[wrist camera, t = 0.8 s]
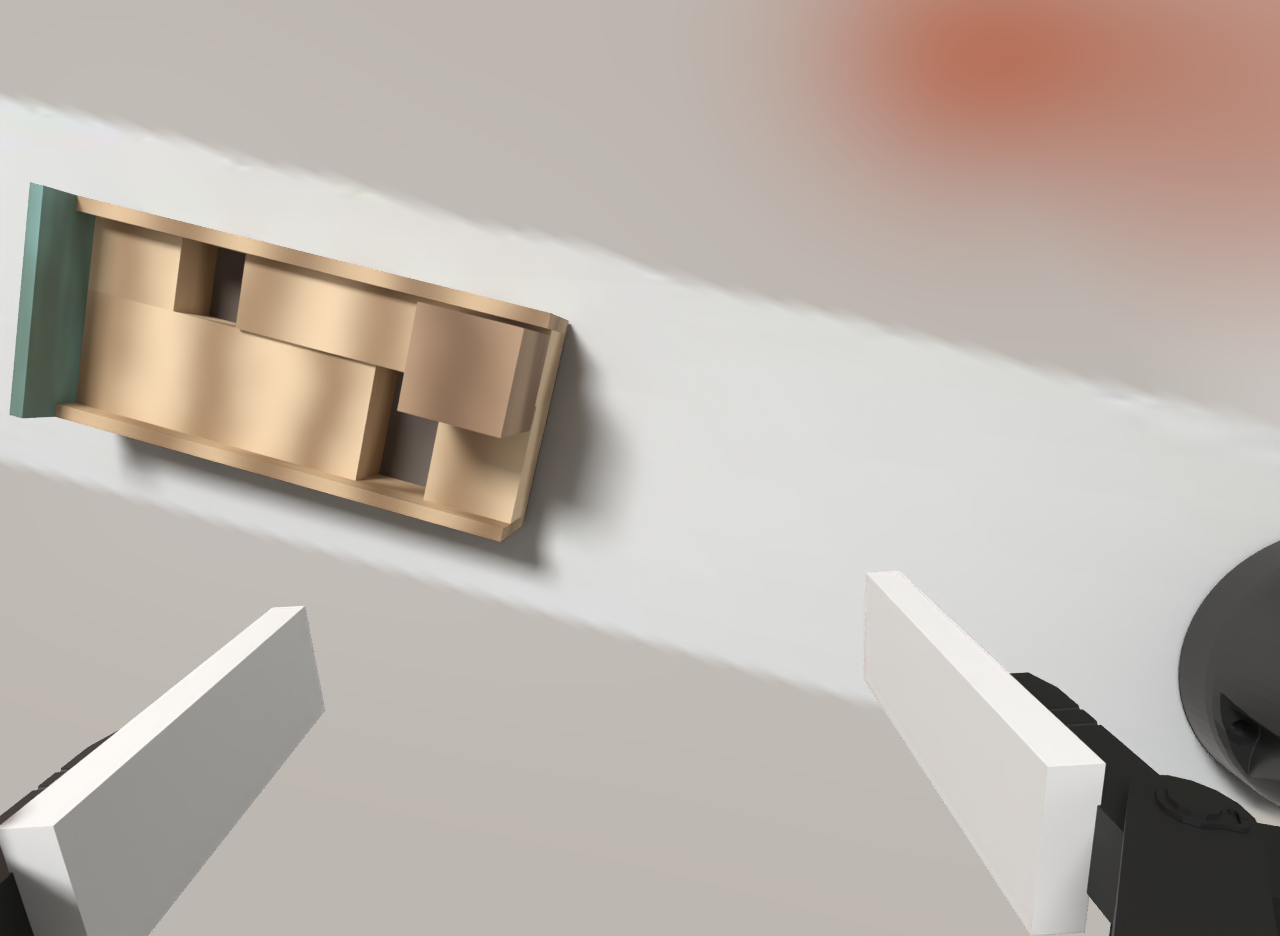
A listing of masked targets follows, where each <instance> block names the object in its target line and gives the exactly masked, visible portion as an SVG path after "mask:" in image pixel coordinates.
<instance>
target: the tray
mask: <svg viewBox="0 0 1280 936" xmlns="http://www.w3.org/2000/svg"><path fill="white" fill-rule="evenodd" d="M417 301H418V302H422V303H426V304H430V305H434V306H438V307H442V308H446V309H450V310H454V311H458V312H462V313H466V314H470V315H474V316H478V317H482V318H486V319H490V320H494V321H498V322H502V323H506V324H509V325H513V326H517V327H521V328H525V329H529V330H532V331H536V332H539V333H543V334H546V335H550V340H549V345H548V349H547V354H546V358H545V363H544V367H543V372H542V376H541V381H540V385H539V390H538V394H537V399H536V403H535V408H534V412H533V417H532V421H531V426H530V430H529V431H527V432H523V433H519V434H515V435H511V436H507V437H503V438H498V437H494V436H490V435H486V434H483V433H479V432H475V431H471V430H468V429H464V428H460V427H457V426H453V425H449V424H445V423H442V422H438V421H434V420H430V419H427V418H423V417H419V416H415V415H412V414H408V413H404V412H400V411H397V408H398V403H399V398H400V392H401V387H402V382H403V376H404V371H405V365H406V360H407V355H408V349H409V344H410V339H411V333H412V328H413V323H414V317H415V312H416V307H417ZM568 322H569V321H568V320H565V319H563V318H561V317H558V316H556V315H554V314H551V313H547V312H543V311H539V310H535V309H531V308H527V307H523V306H519V305H515V304H511V303H507V302H503V301H499V300H495V299H491V298H487V297H483V296H479V295H475V294H471V293H467V292H463V291H459V290H455V289H451V288H447V287H443V286H439V285H435V284H431V283H427V282H423V281H419V280H415V279H410V278H406V277H402V276H398V275H394V274H390V273H386V272H382V271H378V270H374V269H370V268H366V267H362V266H358V265H354V264H350V263H346V262H342V261H338V260H334V259H330V258H326V257H322V256H318V255H314V254H310V253H306V252H302V251H298V250H294V249H290V248H286V247H282V246H278V245H274V244H270V243H266V242H262V241H258V240H254V239H250V238H246V237H242V236H238V235H234V234H229V233H225V232H221V231H217V230H213V229H209V228H205V227H201V226H197V225H193V224H189V223H185V222H181V221H177V220H173V219H169V218H165V217H161V216H157V215H153V214H149V213H145V212H141V211H137V210H133V209H129V208H125V207H121V206H117V205H113V204H109V203H105V202H101V201H97V200H93V199H89V198H85V197H81V196H77V195H73V194H70V193H66V192H63V191H60V190H56V189H53V188H49V187H46V186H43V185H38V184H34V183H30V189H29V200H28V212H27V223H26V234H25V246H24V257H23V268H22V280H21V291H20V302H19V314H18V325H17V336H16V348H15V359H14V370H13V382H12V393H11V404H10V415H13V416H16V417H20V418H36V417H58V418H62V419H65V420H69V421H73V422H76V423H80V424H83V425H87V426H90V427H94V428H97V429H101V430H105V431H108V432H112V433H115V434H119V435H122V436H126V437H129V438H133V439H137V440H140V441H144V442H147V443H151V444H154V445H158V446H161V447H165V448H168V449H172V450H176V451H179V452H183V453H186V454H190V455H193V456H197V457H200V458H204V459H208V460H211V461H215V462H218V463H222V464H225V465H229V466H232V467H236V468H240V469H243V470H247V471H250V472H254V473H257V474H261V475H264V476H268V477H271V478H275V479H279V480H282V481H286V482H289V483H293V484H296V485H300V486H303V487H307V488H311V489H314V490H318V491H321V492H325V493H328V494H332V495H335V496H339V497H343V498H346V499H350V500H353V501H357V502H360V503H364V504H367V505H371V506H374V507H378V508H382V509H385V510H389V511H392V512H396V513H399V514H403V515H406V516H410V517H414V518H417V519H421V520H424V521H428V522H431V523H435V524H438V525H442V526H446V527H449V528H453V529H456V530H460V531H463V532H467V533H470V534H474V535H477V536H481V537H485V538H488V539H492V540H495V541H499V542H501V541H503V540H504V539H505V538H507V537H508V536H509V535H511V534H512V533H514V532H515V531H516V530H518V529H519V528H520V527H522V526H523V521H524V517H525V513H526V508H527V504H528V499H529V495H530V490H531V486H532V481H533V477H534V473H535V468H536V464H537V459H538V455H539V450H540V446H541V442H542V437H543V433H544V428H545V424H546V419H547V415H548V411H549V406H550V402H551V397H552V393H553V388H554V384H555V379H556V375H557V371H558V366H559V362H560V357H561V353H562V348H563V344H564V340H565V335H566V331H567V326H568Z"/></svg>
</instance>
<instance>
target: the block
mask: <svg viewBox="0 0 1280 936" xmlns="http://www.w3.org/2000/svg"><path fill="white" fill-rule="evenodd" d="M549 340H550V335H546V334H543V333H539V332H536V331H532V330H529V329H525V328H521V327H517V326H513V325H509V324H506V323H502V322H498V321H494V320H490V319H486V318H482V317H478V316H474V315H470V314H466V313H462V312H458V311H454V310H450V309H446V308H442V307H438V306H434V305H430V304H426V303H422V302H418V301H417V307H416V312H415V317H414V323H413V328H412V333H411V339H410V344H409V349H408V355H407V360H406V365H405V371H404V376H403V382H402V387H401V392H400V398H399V403H398V408H397V411H400V412H404V413H408V414H412V415H415V416H419V417H423V418H427V419H430V420H434V421H438V422H442V423H445V424H449V425H453V426H457V427H460V428H464V429H468V430H471V431H475V432H479V433H483V434H486V435H490V436H494V437H498V438H503V437H507V436H511V435H515V434H519V433H523V432H527V431H529V430H530V426H531V421H532V417H533V412H534V408H535V403H536V399H537V394H538V390H539V385H540V381H541V376H542V372H543V367H544V363H545V358H546V354H547V349H548V345H549Z"/></svg>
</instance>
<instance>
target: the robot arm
mask: <svg viewBox="0 0 1280 936" xmlns="http://www.w3.org/2000/svg"><path fill="white" fill-rule="evenodd" d="M863 679H864V680H865V682H866V683H867V685H868V686H869V688H870V690H871V691H872V693H873V694H874V696H875V697H876V699H877V700H878V702H879V703H880V705H881V706H882V708H883V709H884V711H885V713H886V714H887V716H888V717H889V719H890V720H891V722H892V723H893V725H894V726H895V728H896V729H897V731H898V732H899V734H900V736H901V737H902V739H903V740H904V742H905V743H906V745H907V746H908V747H909V749H910V751H911V752H912V754H913V755H914V757H915V758H916V760H917V762H918V763H919V765H920V766H921V768H922V769H923V771H924V772H925V774H926V775H927V777H928V779H929V780H930V782H931V783H932V785H933V786H934V788H935V789H936V791H937V792H938V794H939V795H940V797H941V798H942V800H943V802H944V803H945V805H946V806H947V808H948V809H949V811H950V812H951V814H952V815H953V817H954V818H955V820H956V821H957V823H958V825H959V826H960V827H961V829H962V831H963V832H964V834H965V835H966V837H967V838H968V840H969V842H970V843H971V845H972V846H973V848H974V849H975V851H976V852H977V854H978V855H979V857H980V858H981V860H982V861H983V863H984V864H985V866H986V868H987V869H988V871H989V872H990V873H991V875H992V877H993V878H994V880H995V881H996V883H997V884H998V886H999V887H1000V889H1001V891H1002V892H1003V894H1004V895H1005V897H1006V898H1007V900H1008V901H1009V903H1010V904H1011V906H1012V907H1013V909H1014V910H1015V912H1016V913H1017V915H1018V917H1019V918H1020V920H1021V921H1022V923H1023V924H1024V926H1025V927H1026V929H1027V931H1028V932H1029V934H1030V935H1031V936H1032V935H1049V934H1064V933H1065V934H1066V933H1081V932H1085V925H1086V918H1087V910H1088V901H1089V897H1090V898H1091V899H1092V900H1093V902H1094V903H1095V904H1096V905H1097V907H1098V908H1099V909H1100V910H1101V912H1102V913H1103V914H1104V915H1105V917H1106V918H1107V919H1108V920H1109V922H1110V923H1111V927H1110V934H1109V936H1280V827H1279V826H1272V825H1267V824H1261V823H1257V822H1256V820H1255V818H1254V817H1253V816H1251V815H1250V814H1249V813H1248V812H1247V811H1246V810H1245V809H1244V808H1243V807H1242V806H1241V805H1239V804H1238V803H1237V802H1235V801H1233V800H1232V799H1230V798H1228V797H1227V796H1225V795H1223V794H1221V793H1220V792H1218V791H1216V790H1214V789H1212V788H1209V787H1206V786H1204V785H1201V784H1199V783H1196V782H1194V781H1191V780H1187V779H1182V778H1178V777H1173V776H1169V775H1159V774H1158V773H1157V772H1155V771H1154V770H1153V769H1152V768H1151V767H1150V766H1148V765H1147V764H1146V763H1145V762H1144V761H1143V760H1141V759H1140V758H1139V757H1138V756H1137V755H1136V754H1134V753H1133V752H1132V751H1131V750H1130V749H1129V748H1127V747H1126V746H1125V745H1124V744H1123V743H1122V742H1120V741H1119V740H1118V739H1117V738H1116V737H1115V736H1113V735H1112V734H1111V733H1110V732H1109V731H1108V730H1106V729H1105V728H1104V727H1103V726H1102V725H1097V721H1096V720H1095V719H1094V718H1092V717H1091V716H1090V715H1089V714H1088V713H1087V712H1085V711H1084V710H1083V709H1082V710H1080V709H1079V706H1078V705H1077V704H1076V703H1075V702H1074V701H1073V700H1071V699H1070V698H1069V697H1068V696H1067V695H1066V694H1064V693H1063V692H1062V691H1061V690H1060V689H1059V688H1058V687H1056V686H1054V685H1052V684H1050V683H1048V682H1046V681H1044V680H1042V679H1040V678H1038V677H1036V676H1034V675H1032V674H1030V673H1011V674H1009V673H1008V672H1007V671H1006V670H1005V669H1004V668H1003V667H1002V666H1001V665H999V664H998V663H997V662H996V661H995V660H994V659H993V658H992V657H991V656H990V655H989V654H988V653H987V652H985V651H984V650H983V649H982V648H981V647H980V646H979V645H978V644H977V643H976V642H975V641H974V640H973V639H972V638H970V637H969V636H968V635H967V634H966V633H965V632H964V631H963V630H962V629H961V628H960V627H959V626H958V625H956V624H955V623H954V622H953V621H952V620H951V619H950V618H949V617H948V616H947V615H946V614H945V613H944V612H942V611H941V610H940V609H939V608H938V607H937V606H936V605H935V604H934V603H933V602H932V601H931V600H930V599H929V598H927V597H926V596H925V595H924V594H923V593H922V592H921V591H920V590H919V589H918V588H917V587H916V586H915V585H913V584H912V583H911V582H910V581H909V580H908V579H907V578H906V577H905V576H904V575H903V574H902V573H901V572H900V571H886V572H869V573H866V593H865V633H864V674H863ZM1179 680H1180V691H1181V697H1182V702H1183V706H1184V709H1185V712H1186V715H1187V718H1188V720H1189V722H1190V724H1191V727H1192V728H1193V730H1194V732H1195V734H1196V736H1197V737H1198V739H1199V740H1200V742H1201V743H1202V744H1203V746H1204V747H1205V748H1206V749H1207V751H1208V752H1209V753H1210V754H1211V755H1212V756H1213V757H1214V758H1215V759H1216V760H1217V761H1218V762H1219V763H1220V764H1221V765H1222V766H1223V767H1225V768H1226V769H1227V770H1228V771H1230V772H1231V773H1232V774H1233V775H1235V776H1236V777H1237V778H1239V779H1240V780H1241V781H1243V782H1244V783H1245V784H1247V785H1248V786H1249V787H1251V788H1252V789H1253V790H1255V791H1256V792H1257V793H1259V794H1260V795H1262V796H1263V797H1265V798H1266V799H1268V800H1269V801H1271V802H1273V803H1274V804H1276V805H1278V806H1280V541H1278V542H1276V543H1274V544H1272V545H1270V546H1268V547H1266V548H1264V549H1262V550H1260V551H1258V552H1257V553H1255V554H1254V555H1252V556H1250V557H1249V558H1247V559H1246V560H1244V561H1243V562H1242V563H1240V564H1239V565H1238V566H1236V567H1235V568H1234V569H1233V570H1232V571H1230V572H1229V573H1228V574H1227V575H1226V576H1225V577H1224V578H1223V579H1222V580H1221V581H1220V582H1219V583H1218V584H1217V585H1216V586H1215V587H1214V588H1213V589H1212V591H1211V592H1210V593H1209V594H1208V596H1207V597H1206V598H1205V600H1204V601H1203V603H1202V604H1201V606H1200V607H1199V609H1198V611H1197V612H1196V614H1195V616H1194V618H1193V620H1192V622H1191V624H1190V626H1189V629H1188V632H1187V634H1186V637H1185V640H1184V644H1183V648H1182V653H1181V658H1180V669H1179ZM324 711H325V708H324V702H323V697H322V692H321V686H320V681H319V677H318V671H317V665H316V660H315V655H314V650H313V644H312V639H311V634H310V629H309V623H308V618H307V613H306V608H305V606H295V607H277V608H272V609H270V610H269V611H268V612H266V613H265V614H264V615H263V616H261V617H260V618H259V619H258V620H256V621H255V622H254V623H253V624H252V625H250V626H249V627H248V628H246V629H245V630H244V631H243V632H241V633H240V634H239V635H238V636H237V637H235V638H234V639H233V640H231V641H230V642H229V643H228V644H226V645H225V646H224V647H223V648H221V649H220V650H219V651H218V652H216V653H215V654H214V655H213V656H211V658H209V659H208V660H207V661H205V662H204V663H203V664H201V665H200V666H199V667H198V668H196V669H195V670H194V671H193V672H191V673H190V674H189V675H188V676H186V677H185V678H184V679H183V680H182V681H180V682H179V683H178V684H176V685H175V686H174V687H173V688H171V689H170V690H169V691H168V692H166V693H165V694H164V695H163V696H161V697H160V698H159V699H158V700H156V701H155V702H154V703H153V704H151V705H150V706H149V707H148V708H146V709H145V710H144V711H143V712H141V713H140V714H139V715H138V716H136V717H135V718H134V719H133V720H131V721H130V722H129V723H128V724H126V725H125V726H124V727H123V728H121V729H120V730H118V731H116V732H115V733H113V734H111V735H109V736H107V737H106V738H104V739H102V740H100V741H98V742H96V743H95V744H93V745H91V746H89V747H88V748H86V749H85V750H84V751H83V752H81V753H80V754H79V755H77V756H76V757H75V758H74V759H72V760H71V761H70V762H68V763H67V764H66V765H65V766H64V767H62V768H61V772H57V773H54V774H53V775H52V776H51V777H49V778H48V779H47V780H45V781H44V782H43V783H42V784H40V785H39V786H38V790H35V791H32V792H30V793H29V794H28V795H27V796H25V797H24V798H23V799H21V800H20V801H19V802H17V803H16V804H15V805H14V806H12V807H11V808H10V809H9V810H8V811H6V812H5V813H3V814H2V815H1V816H0V936H148V935H149V934H150V933H151V931H152V930H153V929H154V928H155V926H156V925H157V924H158V922H159V921H160V920H161V919H162V917H163V916H164V915H165V914H166V912H167V911H168V910H169V909H170V907H171V906H172V904H173V903H174V902H175V901H176V900H177V898H178V897H179V896H180V895H181V893H182V892H183V891H184V889H185V888H186V887H187V886H188V884H189V883H190V882H191V881H192V879H193V878H194V877H195V875H196V874H197V873H198V872H199V870H200V869H201V868H202V866H203V865H204V864H205V863H206V861H207V860H208V859H209V857H210V856H211V855H212V853H214V851H215V850H216V849H217V847H218V846H219V845H220V844H221V842H222V841H223V840H224V839H225V837H226V836H227V835H228V833H229V832H230V831H231V830H232V828H233V827H234V826H235V825H236V823H237V822H238V821H239V819H240V818H241V817H242V815H243V814H244V813H245V812H246V811H247V809H248V808H249V807H250V805H251V804H252V803H253V802H254V800H255V799H256V798H257V796H258V795H259V794H260V793H261V791H262V790H263V789H264V788H265V786H266V785H267V784H268V783H269V781H270V780H271V779H272V777H273V776H274V775H275V774H276V772H277V771H278V770H279V769H280V767H281V766H282V765H283V763H284V762H285V761H286V760H287V758H288V757H289V756H290V754H291V753H292V752H293V751H294V749H295V748H296V747H297V746H298V744H299V743H300V742H301V740H302V739H303V738H304V737H305V735H306V734H307V733H308V732H309V730H310V729H311V728H312V727H313V725H314V724H315V723H316V721H317V720H318V719H319V718H320V716H321V715H322V713H324Z"/></svg>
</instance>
